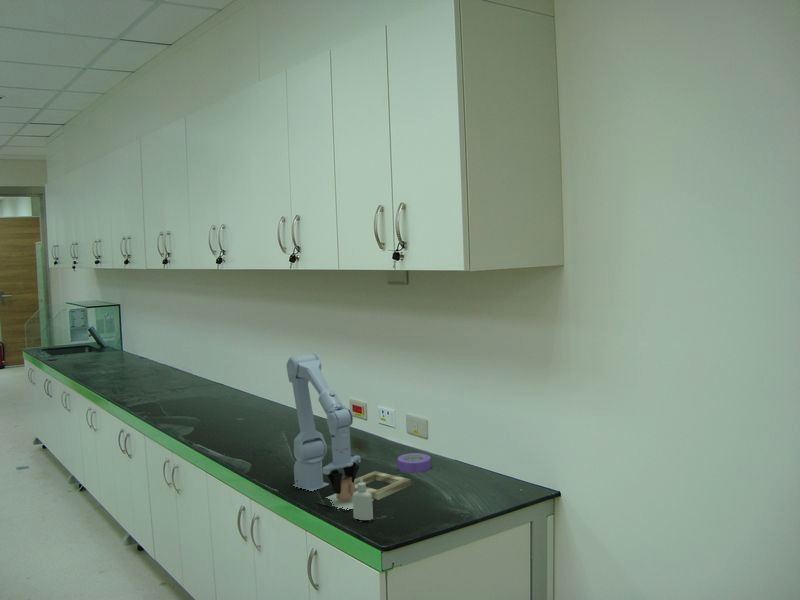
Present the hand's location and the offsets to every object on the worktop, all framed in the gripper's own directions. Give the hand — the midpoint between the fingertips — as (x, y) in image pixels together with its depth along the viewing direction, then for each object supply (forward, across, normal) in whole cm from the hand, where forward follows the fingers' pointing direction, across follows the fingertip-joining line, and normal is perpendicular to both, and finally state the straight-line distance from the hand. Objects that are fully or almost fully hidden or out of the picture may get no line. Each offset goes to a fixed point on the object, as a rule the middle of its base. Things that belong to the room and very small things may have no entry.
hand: (343, 490), depth 218 cm
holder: (+3, +15, 0) cm, 15 cm away
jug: (+2, 0, 0) cm, 2 cm away
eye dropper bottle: (+4, -7, -15) cm, 17 cm away
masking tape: (+4, +38, +3) cm, 38 cm away
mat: (+3, 0, 0) cm, 3 cm away
